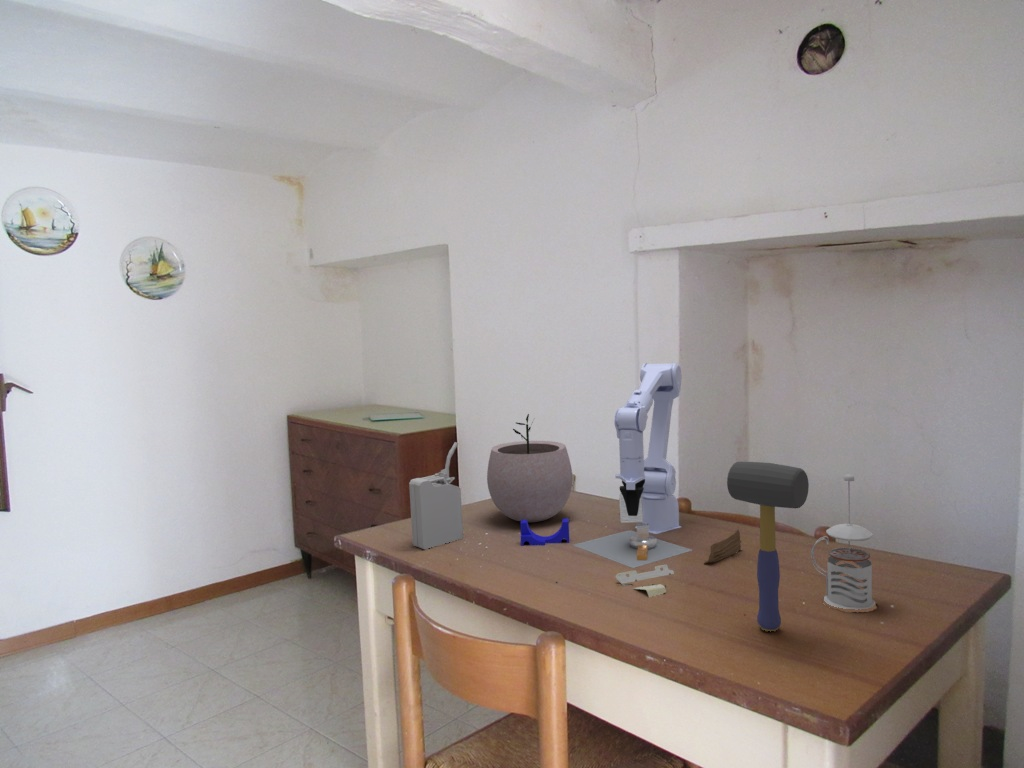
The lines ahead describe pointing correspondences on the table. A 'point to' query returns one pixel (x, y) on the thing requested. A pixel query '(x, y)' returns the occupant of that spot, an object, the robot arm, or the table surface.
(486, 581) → the table surface
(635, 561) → the mat
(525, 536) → the cable clip
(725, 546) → the wood plank
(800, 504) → the rubber mallet
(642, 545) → the scoop
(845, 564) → the french press
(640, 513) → the brushed metal cube
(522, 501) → the plant pot
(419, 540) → the jerry can
